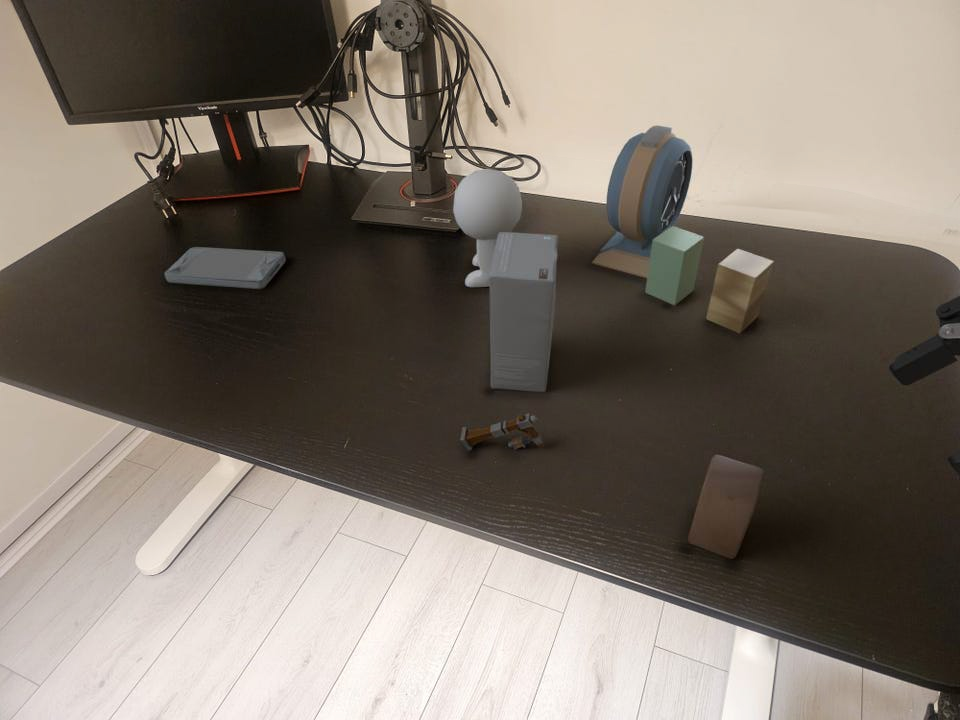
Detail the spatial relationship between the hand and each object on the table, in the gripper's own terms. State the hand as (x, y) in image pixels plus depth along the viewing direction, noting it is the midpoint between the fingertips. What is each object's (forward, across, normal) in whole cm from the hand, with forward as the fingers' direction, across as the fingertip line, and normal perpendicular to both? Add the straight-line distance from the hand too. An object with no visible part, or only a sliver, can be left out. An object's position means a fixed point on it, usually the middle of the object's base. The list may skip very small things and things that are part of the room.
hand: (923, 419), depth 42 cm
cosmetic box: (+31, -22, -9) cm, 39 cm away
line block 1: (+17, -37, +5) cm, 41 cm away
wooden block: (+19, 0, +3) cm, 19 cm away
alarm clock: (+19, -47, +4) cm, 51 cm away
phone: (+62, -45, -40) cm, 86 cm away
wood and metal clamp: (+32, -11, -10) cm, 35 cm away
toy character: (+34, -42, -12) cm, 56 cm away
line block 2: (+12, -31, +10) cm, 35 cm away
